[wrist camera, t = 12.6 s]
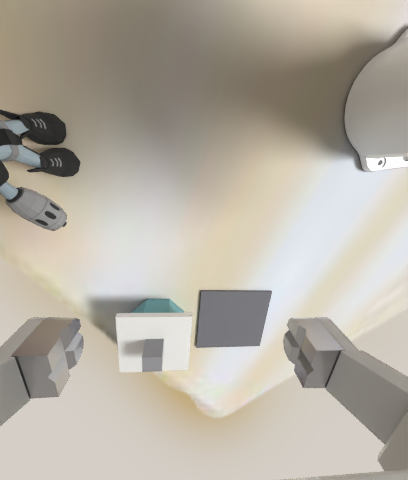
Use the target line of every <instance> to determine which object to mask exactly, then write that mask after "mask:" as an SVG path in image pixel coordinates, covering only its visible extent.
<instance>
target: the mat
mask: <svg viewBox="0 0 408 480" xmlns="http://www.w3.org/2000/svg"><path fill="white" fill-rule="evenodd" d="M271 294H272V291H237V290H201V299H200V310H199V321H198V332H197V343H196V348H204V347H238V346H260V342H261V337H262V333H263V328H264V324H265V320H266V315H267V311H268V307H269V302H270V298H271Z"/></svg>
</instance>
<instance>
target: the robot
mask: <svg viewBox="0 0 408 480" xmlns="http://www.w3.org/2000/svg"><path fill="white" fill-rule="evenodd" d="M0 114H1V115H3V116H5V117H7V118H9V119H11V120H7V121H2V120H0V193H1V194H2V195H3V196H4V197H5V198H6V203H7V205H8V206H9V207H10V208H11V209H12V210H13V211H14V212H15V213H17V214H18V215H20V216H21V217H22V218H24V219H26V220H28V221H30V222H32V223H34V224H36V225H38V226H40V227H43V228H45V229H48V230H52V231H55V230H57V229H59V228H60V227H62V226H63V227H64V226H65V225H66V224H67V223H66V219H67V215H66V213H65V212H64V210H63V209H62V208H61V207H60V206H58V205H57V204H56V203H54V202H53V201H52V200H50V199H49V198H47V197H45V196H43V195H41V194H39V193H37V192H36V191H33V190H30V189H26V188H22V187H20V188H15V187H13V186H12V185H10V184H9V183H8V182H7V180H8V178H9V173H8V171H7V169H6V167H5V166H4V164H3V163H2V162H7V161H12V160H15V161H18V162H21V163H23V164H27V165H30V166H33V167H36V168H35V169H31V170H27V171H28V172H40V171H43V172H45V173H49V174H53V175H57V176H62V177H68V176H73V175H75V174H76V173H77V172H78V170H79V165H80V161H79V160H78V158H77V157H76V156H75V154H74V153H73V152H72V151H70V150H68V149H66V148H53V149H49V150H46V151H44V152H42V153H40V154H39V153H37V152H35V151H33V150H31V149H29V148H27V147H26V146H24V145H23V144H22V140H21V139H23V138H24V137H26V136H27V137H28V138H29V139H31V140H32V141H34V142H36V143H39V144H43V145H58V144H60V143H63V141H64V139H65V137H66V129H65V123H64V122H62V121H61V120H60V119H59V118H58V117H57V116H56V115H54V114H49V113H43V112H35V113H29V114H23V115H17V114H14V113H10V112H7V111H3V110H0ZM21 133H22V134H21ZM19 134H21V136H20V137H19V136H18V135H19Z"/></svg>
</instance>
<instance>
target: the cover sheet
mask: <svg viewBox="0 0 408 480" xmlns="http://www.w3.org/2000/svg"><path fill="white" fill-rule="evenodd" d="M115 319H116V331H117V343H118V355H119V367H120V373H122V372H153V371H168V370H188V366H189V352H190V339H191V326H192V313H117V315H116V317H115Z"/></svg>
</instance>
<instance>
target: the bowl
mask: <svg viewBox="0 0 408 480" xmlns="http://www.w3.org/2000/svg"><path fill="white" fill-rule="evenodd" d="M131 313H184V311H183V310H182V309H181V308H179V307H178V306H177V305H176V304H175V303H174V302H172V301H171V300H170V299H146V300H145V301H144V302H143V303H142V304H140V305H139V306H138V307H137V308H135V309H134V310H133V311H132V312H131Z"/></svg>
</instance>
